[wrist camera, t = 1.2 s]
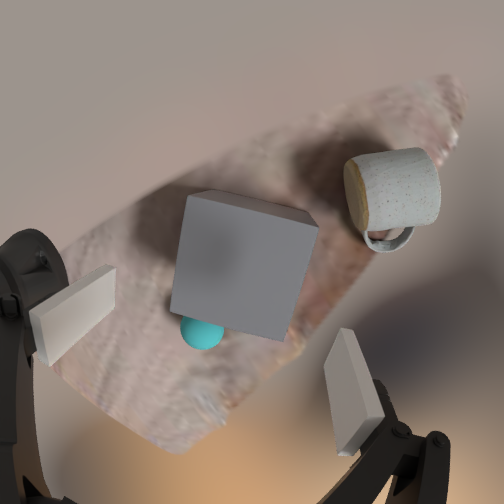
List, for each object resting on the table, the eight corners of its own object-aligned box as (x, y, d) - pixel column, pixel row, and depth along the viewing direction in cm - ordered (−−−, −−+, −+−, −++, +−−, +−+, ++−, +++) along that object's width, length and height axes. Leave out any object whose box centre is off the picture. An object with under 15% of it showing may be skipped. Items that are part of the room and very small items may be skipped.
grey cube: (196, 277, 32) (169, 311, 24) (214, 189, 29) (187, 195, 21) (283, 299, 32) (282, 341, 24) (308, 212, 29) (319, 227, 21)
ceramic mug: (334, 159, 27) (353, 155, 20) (403, 149, 26) (437, 145, 19) (351, 255, 30) (371, 281, 23) (415, 241, 29) (448, 262, 21)
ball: (185, 328, 34) (172, 350, 30) (190, 294, 33) (176, 313, 28) (223, 339, 34) (215, 363, 29) (231, 305, 33) (222, 326, 28)
